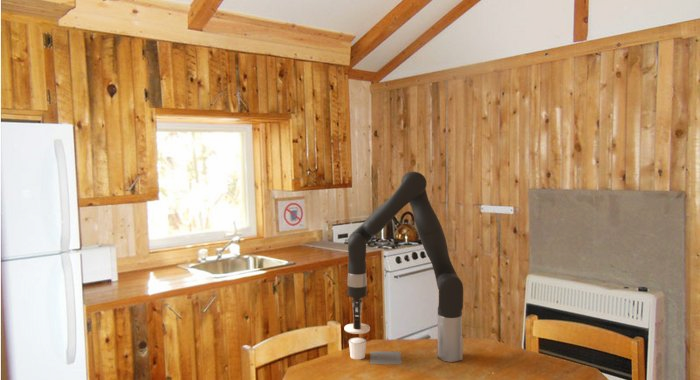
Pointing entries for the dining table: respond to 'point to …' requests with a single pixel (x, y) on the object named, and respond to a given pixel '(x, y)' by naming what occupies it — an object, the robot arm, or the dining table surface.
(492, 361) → the dining table surface
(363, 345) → the white cup
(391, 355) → the mat
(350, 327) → the lid
